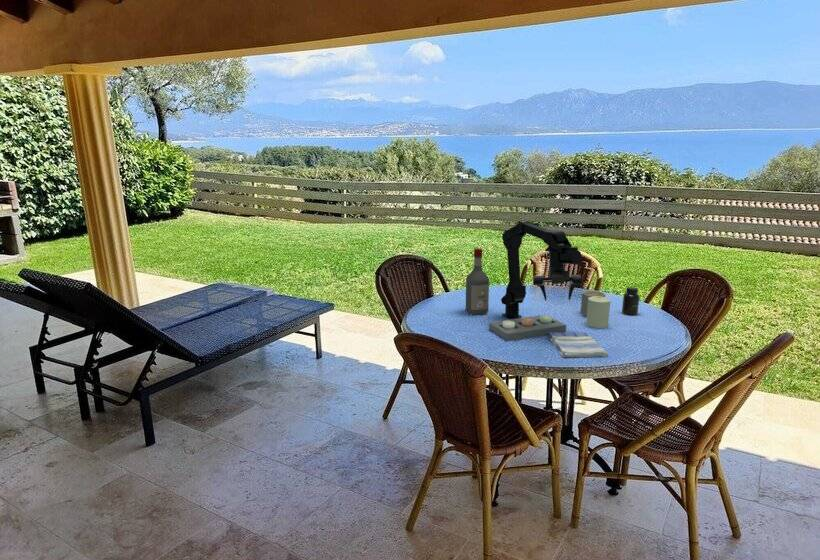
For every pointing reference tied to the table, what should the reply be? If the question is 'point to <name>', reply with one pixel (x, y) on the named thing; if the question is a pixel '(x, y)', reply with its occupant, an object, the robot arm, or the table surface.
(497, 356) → the table surface
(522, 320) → the terracotta button
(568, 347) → the dish towel
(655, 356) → the table surface
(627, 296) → the supplement bottle
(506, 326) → the cream button
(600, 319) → the sage green canister
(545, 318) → the sage button
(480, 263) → the liquor
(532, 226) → the robot arm
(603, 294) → the coffee mug
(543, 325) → the button panel
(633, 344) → the table surface
